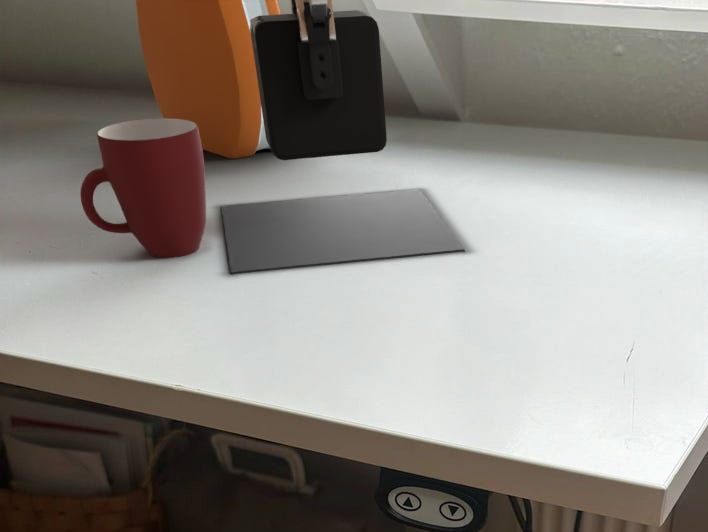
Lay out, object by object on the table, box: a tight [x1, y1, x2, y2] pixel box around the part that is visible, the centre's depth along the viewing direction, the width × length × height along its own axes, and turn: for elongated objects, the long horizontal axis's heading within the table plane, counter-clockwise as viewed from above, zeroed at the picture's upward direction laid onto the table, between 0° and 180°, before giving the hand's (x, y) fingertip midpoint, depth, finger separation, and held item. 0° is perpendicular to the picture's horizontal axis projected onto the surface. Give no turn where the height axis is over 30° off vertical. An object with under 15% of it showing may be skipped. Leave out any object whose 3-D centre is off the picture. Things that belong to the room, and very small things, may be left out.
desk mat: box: [220, 188, 466, 275], centre depth 87 cm, size 20×20×1 cm
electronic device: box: [250, 9, 388, 161], centre depth 80 cm, size 4×10×10 cm, turn 107°
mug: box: [79, 117, 207, 259], centre depth 79 cm, size 11×8×10 cm
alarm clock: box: [135, 0, 282, 159], centre depth 109 cm, size 22×10×23 cm, turn 42°
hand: (320, 89), depth 80 cm, fingers closed on electronic device, 4 cm apart
